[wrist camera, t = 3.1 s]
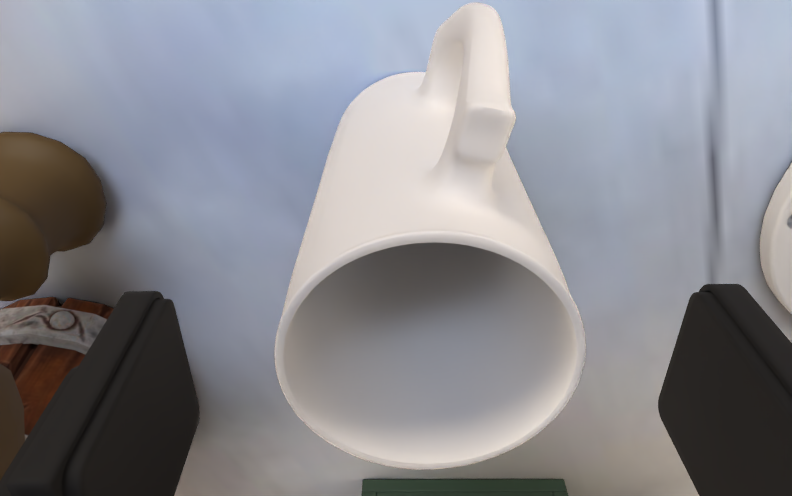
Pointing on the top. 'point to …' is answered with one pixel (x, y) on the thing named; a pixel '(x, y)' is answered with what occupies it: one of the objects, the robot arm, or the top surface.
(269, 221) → the top surface
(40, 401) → the mug
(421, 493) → the bin
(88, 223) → the kendama
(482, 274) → the mug
